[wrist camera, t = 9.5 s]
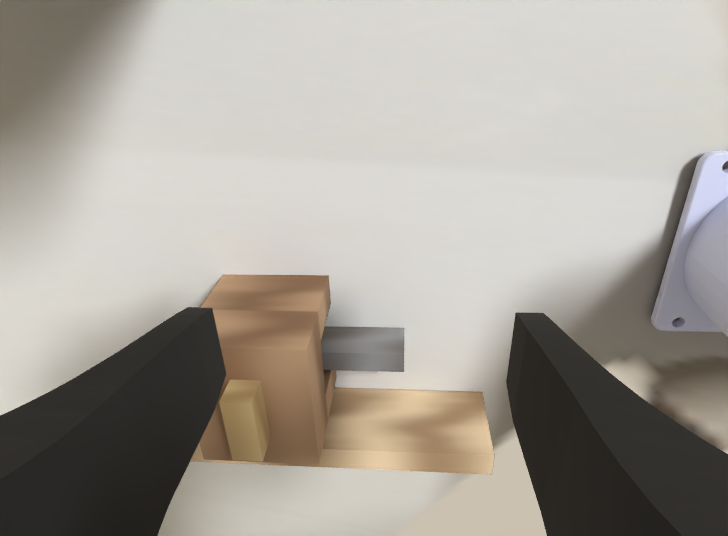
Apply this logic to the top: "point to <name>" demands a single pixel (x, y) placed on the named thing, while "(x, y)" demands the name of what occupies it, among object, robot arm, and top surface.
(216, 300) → the cabinet block
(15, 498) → the robot arm
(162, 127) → the top surface
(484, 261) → the top surface
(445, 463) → the cleat board
